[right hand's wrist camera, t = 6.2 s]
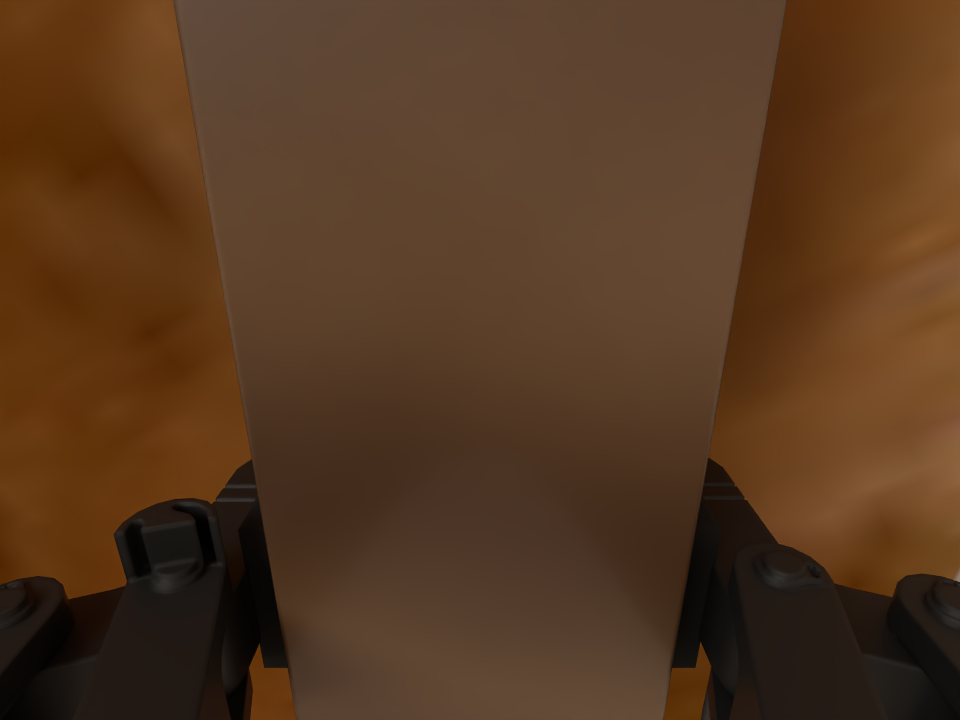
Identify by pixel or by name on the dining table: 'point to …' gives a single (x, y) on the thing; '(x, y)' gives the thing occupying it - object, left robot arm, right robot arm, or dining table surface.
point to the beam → (479, 329)
